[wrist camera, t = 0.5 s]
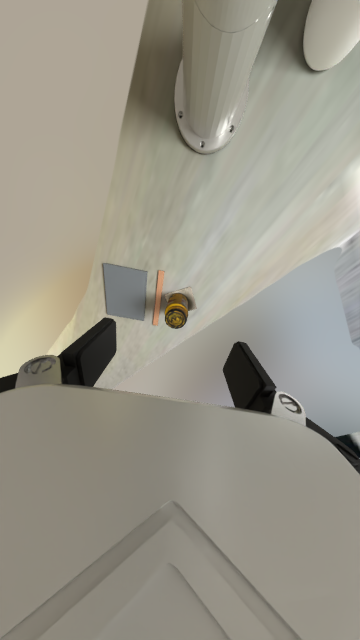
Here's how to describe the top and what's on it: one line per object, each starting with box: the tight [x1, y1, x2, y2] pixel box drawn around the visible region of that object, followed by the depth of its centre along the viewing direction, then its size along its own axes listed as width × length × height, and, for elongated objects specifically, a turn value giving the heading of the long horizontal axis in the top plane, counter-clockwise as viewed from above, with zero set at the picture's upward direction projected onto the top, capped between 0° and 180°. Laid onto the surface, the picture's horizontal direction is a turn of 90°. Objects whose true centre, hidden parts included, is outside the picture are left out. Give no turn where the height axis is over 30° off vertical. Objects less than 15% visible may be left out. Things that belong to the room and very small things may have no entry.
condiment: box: [164, 287, 197, 329], centre depth 37 cm, size 7×8×12 cm
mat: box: [103, 263, 147, 321], centre depth 42 cm, size 16×12×1 cm
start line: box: [153, 270, 164, 325], centre depth 42 cm, size 18×2×1 cm, turn 169°
